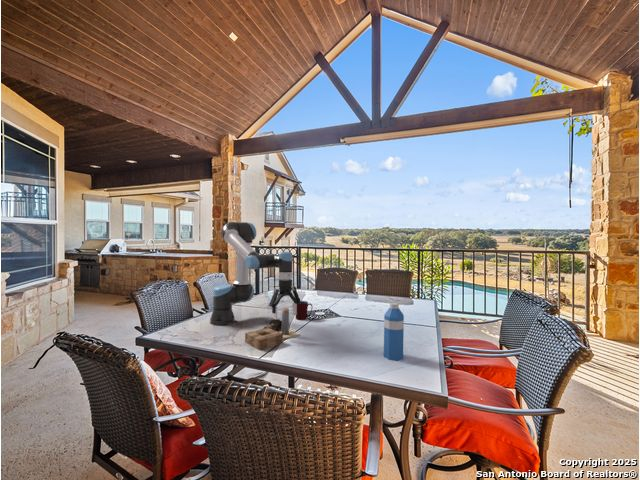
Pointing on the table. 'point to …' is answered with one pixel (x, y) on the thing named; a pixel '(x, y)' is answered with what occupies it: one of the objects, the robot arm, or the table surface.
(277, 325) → the brown lumpy club
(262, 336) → the socket block
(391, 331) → the water bottle
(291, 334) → the light brown wooden board
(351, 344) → the table surface
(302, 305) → the mug
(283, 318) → the plug
